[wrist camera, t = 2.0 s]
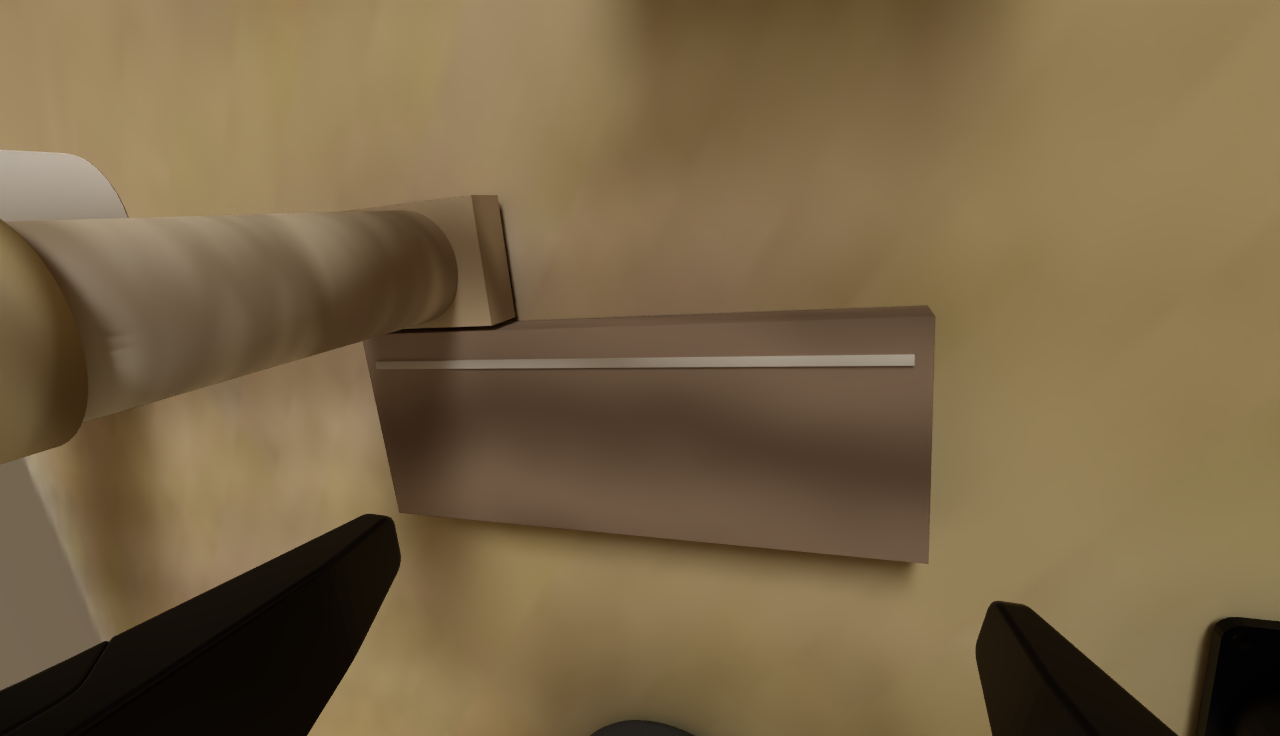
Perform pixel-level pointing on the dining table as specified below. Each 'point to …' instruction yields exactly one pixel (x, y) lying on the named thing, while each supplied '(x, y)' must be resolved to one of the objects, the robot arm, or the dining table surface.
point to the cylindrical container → (54, 188)
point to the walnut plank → (672, 426)
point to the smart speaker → (640, 729)
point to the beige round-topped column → (222, 300)
